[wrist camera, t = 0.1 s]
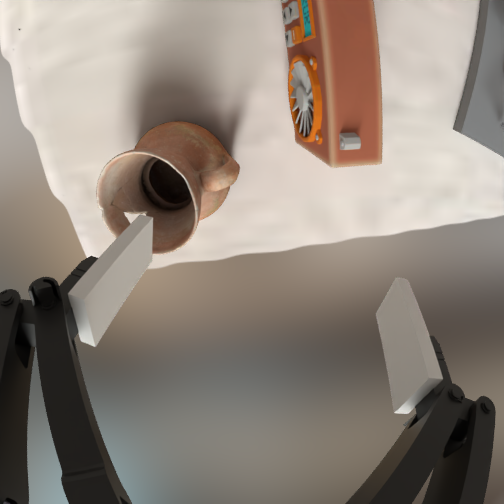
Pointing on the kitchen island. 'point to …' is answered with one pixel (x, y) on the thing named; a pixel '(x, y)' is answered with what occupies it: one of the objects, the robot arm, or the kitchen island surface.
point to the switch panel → (485, 81)
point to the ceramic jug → (167, 183)
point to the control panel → (335, 79)
